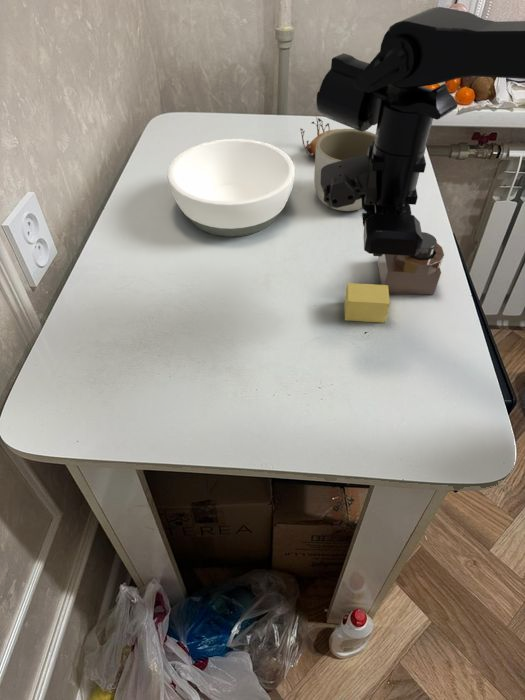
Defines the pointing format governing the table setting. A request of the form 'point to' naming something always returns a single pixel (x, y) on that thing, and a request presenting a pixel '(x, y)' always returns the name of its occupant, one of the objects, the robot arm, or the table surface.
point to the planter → (340, 155)
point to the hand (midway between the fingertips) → (376, 254)
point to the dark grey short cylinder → (426, 247)
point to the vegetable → (312, 146)
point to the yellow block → (366, 302)
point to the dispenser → (410, 273)
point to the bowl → (231, 185)
